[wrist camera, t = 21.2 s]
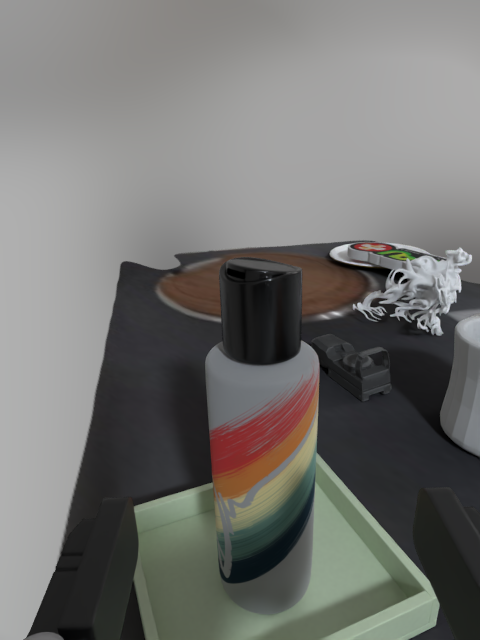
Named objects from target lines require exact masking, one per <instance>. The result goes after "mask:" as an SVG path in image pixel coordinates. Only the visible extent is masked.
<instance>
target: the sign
mask: <svg viewBox="0 0 480 640" xmlns="http://www.w3.org/2000/svg"><path fill="white" fill-rule="evenodd" d="M347 255H348V257H350V258H352V259H356V260H361V261H368V262H370V263H373V264H376V265H380V266H382V267H385V268H389V269H392V270H393V269H394V270H397V269H398V268H399V269H405V270H406V260H407V258H408V259H409V260H410V261H411V260H414V259H416V258H419V257H422V256H430V257H432V258H434V259H435V260H437V261H438V262H439V261H441V260H444V261H446V260H447V258H443V257H439V256H434V255H431V254H427V253H423V252H419V251H415V250H410V249H406V248H398V247H397V246H395V245H392V244H387V243H379V242H359V243H353V244H350V245H348V253H347Z"/></svg>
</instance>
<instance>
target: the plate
mask: <svg viewBox="0 0 480 640" xmlns="http://www.w3.org/2000/svg"><path fill="white" fill-rule="evenodd" d="M387 244H392V243H387ZM348 245H350V244H348ZM348 245H343V246H339V247H336V248H334V249H332V250H331V252H330V253H329V254H330V256H331V258H333V259H334V260H336V261H338V262H341V263H344V264H348V265H353V266H358V267H365V268H375V269H389V268H385V267H382V266H380V265H376V264H373V263H370V262H368V261H361V260H356V259H352V258H350V257H348V255H347V253H348ZM392 245H395V246H397V247H398V248H406V249H410V250H415V251H419V252H423V253H427V254H429V253H428V252H427V251H425V250H422V249H420V248H417V247H413V246H408V245H402V244H392Z"/></svg>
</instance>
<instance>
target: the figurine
mask: <svg viewBox="0 0 480 640" xmlns="http://www.w3.org/2000/svg"><path fill="white" fill-rule="evenodd" d="M445 254H446V256H447V260H446V261H444V260H441V261H439V262H438V261H437V260H435V259H434V258H432V257H430V256H422V257H419V258H416V259H414V260H411V261H410V260H409V259H408V258H407V260H406V270H405V269H399V268H398V269H397V270H396V271H395V272H394V273H393V275H392V277H391V279H390V275H391V273H392V272H393V270H394V269H393V270H392V271H391V272H390V274H389V275H388V278H387V280H386V289H387V291H386V292H385V293H380V292H381V290H379V291H377V292H376V291H374V292H373V293H371V294H370V295H368V296H367V297H366V298H365V300H364V302H363V303H362V304H361V302H360V303H358V304H357V307H358V308H357V307H356V306H355V305H354V304H353V310H355V309H354V308H356V309H358V310H359V311H361V312H362V313H364V314H365V316H366V318H367V319H369V318H368V317H367V315H366V313H365V312H364V311H363V310H367V311H368V312H369V313H370V314H371V316H373V314H372V313H371V312H370V311H372V310H371V309H373V310H375V311H376V312H378V311H377V309H378V310H379V311H380V312H381V313H380V312H378V313H379V314H378V315H380V316H382V315H384V314H383V312H382V310H381V309H380V308H382V309H383V310H384V311H385V309H384V308H383V307H381V306H379V307H376V308H373V307H370V304H371V302H372V300H373V299H374V298H386V299H388V300H385V301H381V302H379V303H380V304H396V305H398V306H401V307H397V308H396V309H395V314H392V315H390V316H391V317H394V316H397V318H398V320H399V321H400V319H399V317H398V316H402V317H404V318H405V319H406V320H407V321H409V320H408V319H407V318H406V317H407V315H409V316H410V318H411V319H412V320H415V319H414V316H417V315H419V314H424V315H422V316H421V317H420V318H419V319H418V318H417V319H418V324H417V327H418V326H419V325H420V326H419V327H420V328H422V329H426V331H427V332H428V331H429V330H427V327H425V326H426V324H427V326H429V327H430V329H431V333H432V334H433V335H434V334H435V333H436V335H442V334H443V333H441V332H442V330H441V328H440V319H439V318H438V317H437V316H436V313H438V312H439V314H440V316H441V313H444V314H446V313H447V312H448V311H449V307H450V303H453V302H454V298H455V303H456V295H457V294H456V290H459V292H460V291H461V281H460V276H459V274H458V273H460V272H461V269H459V268H458V266H462V265H468V264H469V263H470V262H471V261H472V255H468V254H467V253H466V252H464V251H463V250H462V248H460V247H459V248H458V250H456V251H454V250H447V251H445ZM397 272H402V273H404V276H403V277H402V278H401V279H400V280H399V282H398V284H395V283H394V276H395V274H396V273H397ZM407 278H408V279H410V280H409V281H408V282H407V283H405V284H400V283H401V281H402V280H403V279H407ZM404 295H407V296H408V297H406V298H402V299H403V300H409V299H412V298H414V297H416V299H414V300H411V301H410V302H409V304H408V303H403V302H399V301H398V302H397V303H391V302H394V301H396V300H398V299H399V298H401V297H402V296H404ZM452 300H453V301H452ZM440 301H441V302H440ZM399 303H400V304H399ZM413 303H417V304H413ZM439 303H440V305H441V303H442V306H441V308H438V309H436V307H437V305H438V304H439ZM430 307H431V308H430ZM429 308H430V310H427V309H429ZM412 309H418V310H427V311H419V312H416V313H414V314H412V315H411V314H410V313H409V311H408V310H412ZM435 309H436V310H435ZM369 310H370V311H369ZM398 310H400V311H399V312H398ZM446 310H447V311H446ZM372 312H374V311H372ZM385 312H386V311H385ZM374 313H375V312H374ZM376 314H377V313H376ZM404 314H406V316H405V315H404ZM373 317H374V318H377V317H375V316H373ZM429 318H430V319H429ZM377 319H379V318H377ZM369 320H372V319H369ZM379 320H381V319H379ZM422 320H423V322H424V323H425V324H424V326H422V325H421V323H420V321H422ZM424 320H425V321H424ZM373 321H375V320H373ZM429 321H430V323H429ZM377 322H378V321H377ZM409 322H411V321H409ZM433 324H434V325H433ZM419 327H418V328H419ZM431 327H432V328H431ZM420 328H419V329H420ZM435 329H436V330H435Z"/></svg>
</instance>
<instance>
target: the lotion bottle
mask: <svg viewBox="0 0 480 640" xmlns="http://www.w3.org/2000/svg"><path fill="white" fill-rule="evenodd" d="M219 280H220V300H221V320H222V339H223V342H221V343H219V344H217V345H216V346H215V347H213V348H212V349H211V351H210V352H209V353H208V355H207V357H206V363H205V372H206V390H207V406H208V420H209V435H210V449H211V463H212V478H213V492H214V507H215V521H216V535H217V549H218V562H219V571H220V577H221V581H222V584H223V587H224V589H225V591H226V593H227V594H228V596H229V597H230V598H231V600H232V601H233V602H235V603H236V604H237V605H238V606H240V607H241V608H243V609H245V610H247V611H250V612H253V613H257V614H276V613H280V612H283V611H285V610H288V609H289V608H291V607H293V606H294V605H295V604H297V603H298V602H299V601H300V600H301V599H302V597H303V596H304V594H305V593H306V590H307V588H308V585H309V582H310V577H311V567H312V550H313V526H314V500H315V475H316V449H317V424H318V398H319V359H318V355H317V353H316V352H315V351H314V349H313V348H312V347H311V346H309V345H308V344H306V343H305V342H303V341H301V318H302V269H301V268H299V267H296V266H292V265H288V264H284V263H280V262H275V261H271V260H266V259H260V258H252V257H241V258H234V259H231V260H228V261H227V262H225V263H224V264H223V265H222V266H221V268H220V271H219Z"/></svg>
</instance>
